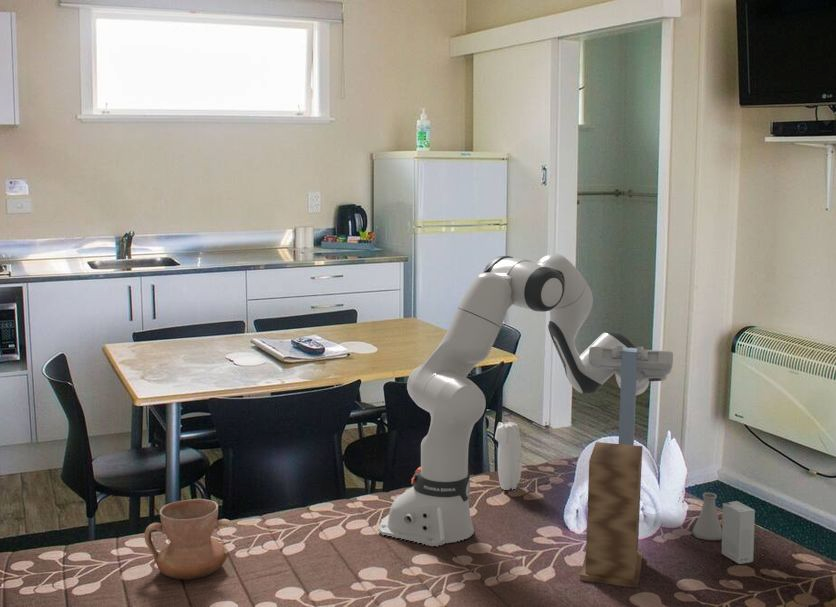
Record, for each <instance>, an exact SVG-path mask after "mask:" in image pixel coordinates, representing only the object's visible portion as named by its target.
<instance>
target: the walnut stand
mask: <svg viewBox="0 0 836 607" xmlns="http://www.w3.org/2000/svg"><path fill="white" fill-rule="evenodd" d="M642 461H643V446H642V445H624V444H619V443H611V442H610V443H609V442H602V441H601V442H600V441H595V443H594V446H593V449H592V451H591V454H590V458H589V460H588V483H587V484H588V488H587V510H586V511H587V515H586V516H587V517H586V541H585V542H586V543H585V544H586V545H585V546H586V547H585V554H584V555H585V556H584V559H583V563H582V567H581V571H580V574H579V581H584V582H590V583H591V582H593V583H598V584H607V585H612V586H613V585H614V586H623V587H629V588H634V589H635V588H636V589H639V585H640V584H639V583H640V577H641V571H642V570H641V569H642V564H643V557H644V556H643V554H644V553H643V552H642V551H639V533H640V531H639V529H640V512H641V508H640V507H641V490H642V489H641V487H642V486H641V485H642V467H643V466H642V465H643V464H642Z"/></svg>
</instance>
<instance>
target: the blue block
mask: <svg viewBox="0 0 836 607" xmlns="http://www.w3.org/2000/svg"><path fill="white" fill-rule="evenodd" d="M637 357H638V356H637V348H636V349H632V348H623V350H622V365H621V389H620V396H619V398H620V399H619V418H618V421H619V422H618V444H624V445H634V444H635V429H636V428H635V426H636V406H637V405H636V403H637V402H636V401H637V395H636V381H637Z"/></svg>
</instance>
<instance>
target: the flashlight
mask: <svg viewBox="0 0 836 607" xmlns="http://www.w3.org/2000/svg"><path fill="white" fill-rule="evenodd" d="M520 435H521V432H520V428H519V427H518V424H517V423H515V422H513V421H507V422H501V421H499V422H498V423H497V426H496V430H495V435H494V440H496V441H497V442H498V448H497V473H498V481H499V482H498V483H499V486H500V487H501V488H502V489H505V490H509V491H510V490H511V491H512V490H513V489H515V490H516V489H517V488H518V484H519V483H520V481H521V476H522V460H523V455H522V443H521V437H520ZM501 488H500V489H501ZM502 489H501V490H502ZM513 491H514V490H513Z"/></svg>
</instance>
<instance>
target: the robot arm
mask: <svg viewBox="0 0 836 607" xmlns="http://www.w3.org/2000/svg"><path fill="white" fill-rule="evenodd" d="M593 304H594V296H593V292H592V290H591V288H590V285H589V284H588V282H587V281H586V280H585V278H584V276H583V275H582V273H580V271H579V270H578V269H577V268H576V267H575V265H574V264H573V263H572V262H571V261H570V260H569V259H567V257H566V256H564V255H562V254H560V253H549V254H546V255H544V256H542V257H541V258H540V259H538V260H537V262H533V261H531V260H528V259H524V258H517V257H514V256H511V255H500V256H496V257H494V258H493V259H492V260H490V261H489V263H488V264H487V265H486V267H485V268H484V271H483V272H481V273H479V274H478V275H476V277H475V278H474V279H473V281H472V282H471V283H470V285H469V287H468V288H467V290H466V291H465V293H464V294H463V296H462V298H461V300H460V302H459V305H458V307H457V309H456V311H455V313H454V314H453V317H452V320H451V322H450V323H449V326H448V328H447V330H446V332H445V335H444V337H443V338H442V340H441V341H440V343H439V345H438V346H437V347H436V348H435V349H434V351H433V352H432V353H431V354H430V356H429V357H428V358H427V359H426V360H425V362H423V363H422V364H421V365H418V366H417V367H415V368H414V369H413V370H412V371H411V372H410V374H409V376H408V378H407V383H406V389H407V392H408V395H409V396H410V398H411V400H412V401H413V402H414V404H416V405H417V406H418V407H419V408H421V409H422V410H424V411H426V413H427V412H428V413H429V415H430V425H429V428H428V432H427V434H426V435H425V436H424V437H423V438H422V441H421V443H420V466H419V467H418V468H417V469H416V470H415V472H414V474H413V476H412V477H411V485H412V487H410V488H409V489H407V490H405V491H404V492H403V493H402V494H400V495H398V496H397V497H396V498H395V499H394V501H393V502H392V504H391V505H390V508H389V512H388V514H387V515H386V516H385V517H384V518H383V519H382V520H381V522H380V523H379V527H378V531H379V532H380V533H381V534H382V535H381V534H380V533H379V532H378V533H379V534H380V535H381V536H384V535H387V536H386V537H388V536H392V537H391V538H393V537H396V538H395V539H397V538H401V539H400V540H402V539H406V540H410V541H414V542H413V543H415V542H417V543H416V544H419V543H422V544H421V545H424V544H425V545H426V546H429V547H433V546H436V547H440V546H443V545H446V544H451V543H458V542H461V541H460V540H462V541H464V539H465V540H466V539H469V538H471V537H472V536H473V535H474V533H475V530H474V529H475V528H474V526H473V522H472V517H471V513H470V512H471V511H470V504H469V503H470V502H469V498H470V494H471V479H470V473H469V446H470V444H469V443H470V440H471V439H470V438H471V435H472V431H473V428H474V426H475V424H476V423H477V422H478V421H479V420H480V419H481V418H482V417H483V414H484V413H485V410H486V404H487V401H486V397H485V394H484V392H483V390H481V389H480V387H479V386H478V385H477V384H476V383H474V382H473V380H471V379H469V378H468V375H469V374H470V372H471V371H472V370H473V369H474V368H475V367H476V366H477V365H478V364H480V363H481V362H483V361H485V360H486V359H487V358H488V356H489V354H490V353H491V350H492V349H493V346H494V344H495V342H496V339H497V337H498V335H499V333H500V330H501V328H502V326H503V323H504V321H505V318H506V315H507V313H508V310H509V309H510V308H511V307H512V306H516V307H519V308H524V309H529V310H531V311H534V312H549V321H548V325H547V328H548V332H549V335H550V337H551V340H552V343H553V345H554V347H555V349H556V351H557V354H558V356H559V358H560V360H561V364H562V365H563V368H564V371H565V376H566V378H567V381H568V383H569V384H570V385H571V387H573V389H574V390H575V391H577V392H578V393H580V394H582V395H592V394H596V393H597V392H599V390H600V389H601V388H602V386H604V383H606V382H607V381H608V380H609V379H610V378H612V376H613V375H614V376H615V380H616V383H617V385H618V387H619V389H620V390H621V365H622V350H623V348H632V349H637V356H638V357H637V381H636V396H638V395H641V394H643V393H644V392H645V391H647V389H648V387H649V385H650V382H664V381H666V379H667V375H669V374H670V373H671V372H672V368H673V362H674V353H673V352H672V351H670V350H657V349H656V350H654V349H645V348H644V347H643V346H636V347H635V345H634V344H633V343H632V342H631V341H630V340H629V338H627V337H626V336H624V335H623V334H621V333H620V332H615V331H604V332H602V333H601V334H600V335H599V336H598V337H597V338H596V339H595V340H594V341H593V342H592V343H591V344H590V345H589V346H588V347H587V348H585V350H584V351H583V352H582V353H581V354H579V352H578V349H577V348H576V344H575V341H576V338H577V335H578V333H579V331H580V329H581V328H582V326H583V324H584V323H585V321H586V320H587V319H588V317H589V315H590V313H591V311H592V308H593ZM406 540H405V541H406ZM410 541H409V542H410ZM457 541H458V542H457ZM445 543H446V544H445ZM425 545H424V546H425ZM439 545H440V546H439Z"/></svg>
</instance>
